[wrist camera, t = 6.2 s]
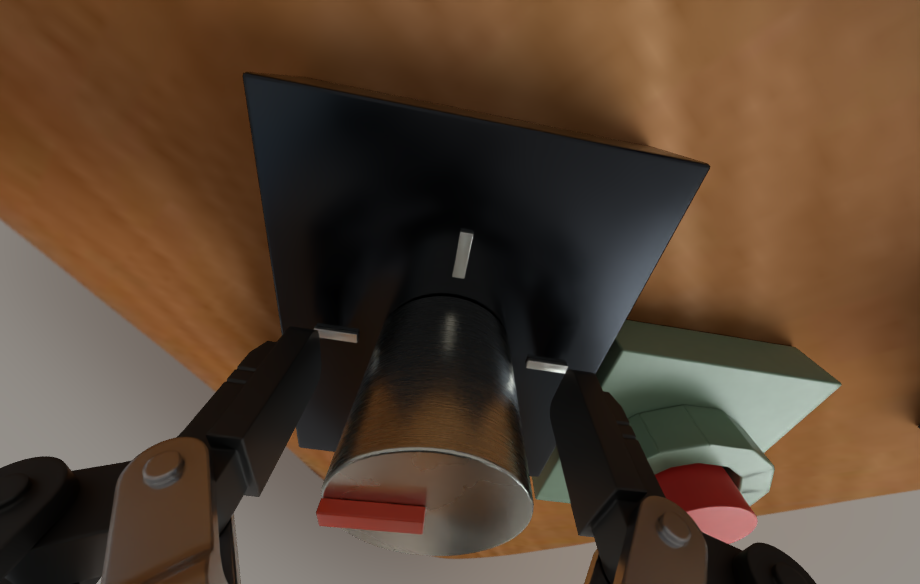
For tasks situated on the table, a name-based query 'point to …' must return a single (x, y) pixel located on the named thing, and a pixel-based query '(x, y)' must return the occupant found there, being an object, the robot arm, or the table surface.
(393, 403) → the knob
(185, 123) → the table surface
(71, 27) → the table surface
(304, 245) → the dial panel
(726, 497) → the button
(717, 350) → the button base
